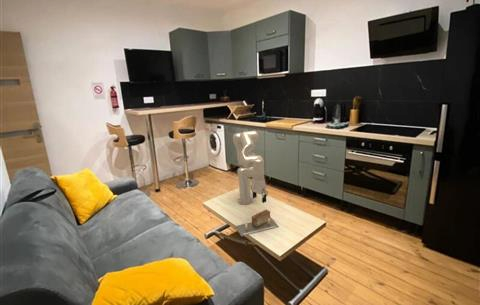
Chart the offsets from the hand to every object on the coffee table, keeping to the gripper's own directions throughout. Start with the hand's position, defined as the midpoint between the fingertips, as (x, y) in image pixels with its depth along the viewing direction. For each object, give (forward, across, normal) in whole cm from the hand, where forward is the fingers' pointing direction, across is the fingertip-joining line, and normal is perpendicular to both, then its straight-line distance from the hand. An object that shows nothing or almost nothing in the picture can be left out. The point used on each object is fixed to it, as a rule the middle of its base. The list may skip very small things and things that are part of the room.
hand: (259, 199), depth 164 cm
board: (+20, 0, -3) cm, 21 cm away
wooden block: (+19, 0, +1) cm, 19 cm away
